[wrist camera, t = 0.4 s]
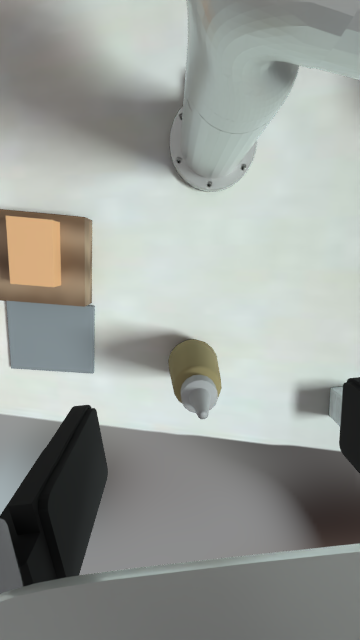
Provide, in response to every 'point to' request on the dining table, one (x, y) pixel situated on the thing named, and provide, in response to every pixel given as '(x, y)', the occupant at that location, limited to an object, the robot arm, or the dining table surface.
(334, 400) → the skincare box
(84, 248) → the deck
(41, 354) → the mat
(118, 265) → the dining table surface
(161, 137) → the dining table surface
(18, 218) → the tile
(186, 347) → the squeeze bottle
